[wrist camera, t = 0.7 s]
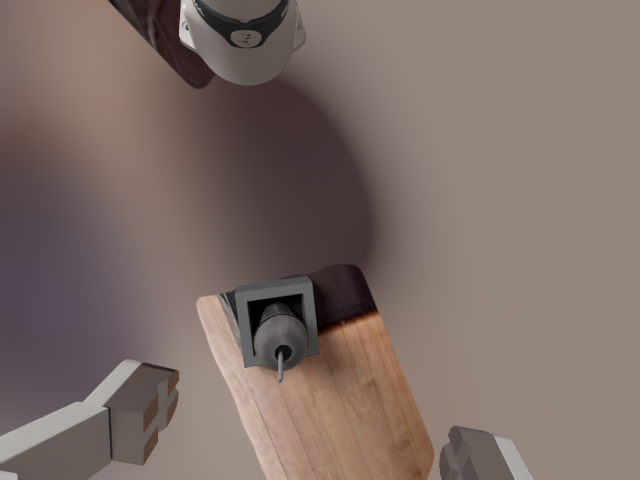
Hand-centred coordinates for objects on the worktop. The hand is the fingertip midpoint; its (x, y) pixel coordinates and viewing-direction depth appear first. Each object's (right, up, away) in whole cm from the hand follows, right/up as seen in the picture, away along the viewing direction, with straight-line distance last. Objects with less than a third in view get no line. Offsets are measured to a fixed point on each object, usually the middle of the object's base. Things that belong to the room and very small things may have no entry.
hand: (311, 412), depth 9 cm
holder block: (-7, -7, +44) cm, 45 cm away
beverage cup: (-7, -7, +44) cm, 45 cm away
